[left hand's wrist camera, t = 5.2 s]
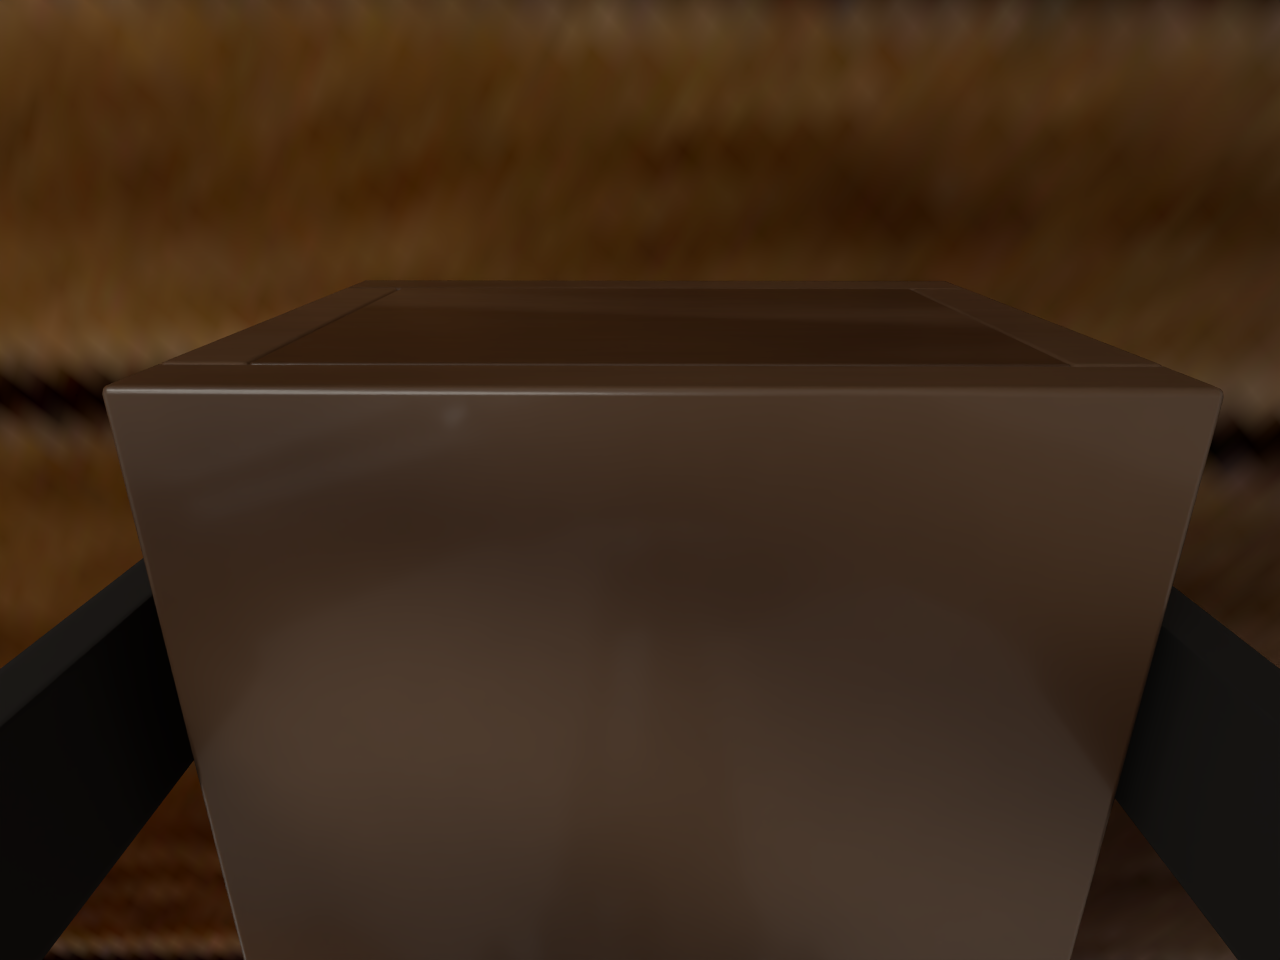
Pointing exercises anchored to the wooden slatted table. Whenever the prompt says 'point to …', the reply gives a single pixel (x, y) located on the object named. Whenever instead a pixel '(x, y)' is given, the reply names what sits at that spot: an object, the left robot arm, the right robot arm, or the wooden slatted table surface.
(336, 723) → the cabinet
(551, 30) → the wooden slatted table surface
